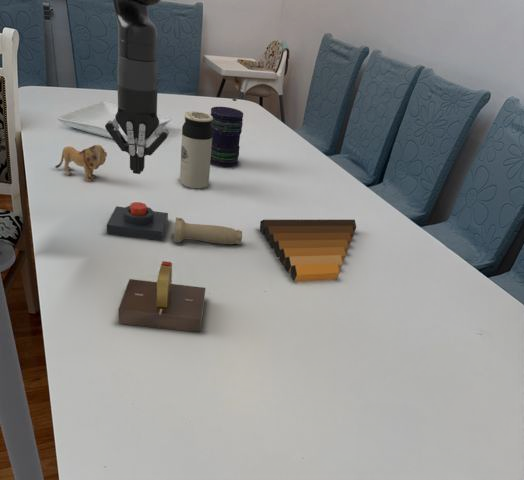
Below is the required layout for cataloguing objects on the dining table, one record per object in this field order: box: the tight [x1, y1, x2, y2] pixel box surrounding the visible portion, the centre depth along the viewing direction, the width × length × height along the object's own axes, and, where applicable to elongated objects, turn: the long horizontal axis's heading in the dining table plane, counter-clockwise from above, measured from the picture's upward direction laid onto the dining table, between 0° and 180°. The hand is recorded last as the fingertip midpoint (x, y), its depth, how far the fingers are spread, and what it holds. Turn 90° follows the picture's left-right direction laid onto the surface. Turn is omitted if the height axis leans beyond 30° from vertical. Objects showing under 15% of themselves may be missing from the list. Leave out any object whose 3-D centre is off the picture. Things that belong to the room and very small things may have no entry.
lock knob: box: [156, 260, 173, 308], centre depth 86 cm, size 6×2×6 cm, turn 1°
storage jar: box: [210, 98, 244, 169], centre depth 151 cm, size 10×10×18 cm
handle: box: [173, 216, 243, 245], centre depth 112 cm, size 5×6×15 cm
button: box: [129, 201, 148, 215], centre depth 111 cm, size 4×4×2 cm
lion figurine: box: [54, 144, 108, 182], centre depth 129 cm, size 15×5×9 cm, turn 77°
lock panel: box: [117, 278, 206, 333], centre depth 89 cm, size 14×10×3 cm
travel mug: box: [179, 110, 213, 189], centre depth 133 cm, size 8×8×18 cm
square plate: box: [56, 101, 173, 142], centre depth 165 cm, size 27×27×4 cm
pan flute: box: [259, 219, 357, 282], centre depth 117 cm, size 25×3×25 cm
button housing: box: [106, 205, 169, 241], centre depth 113 cm, size 12×10×4 cm
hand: (137, 172), depth 106 cm, fingers closed
